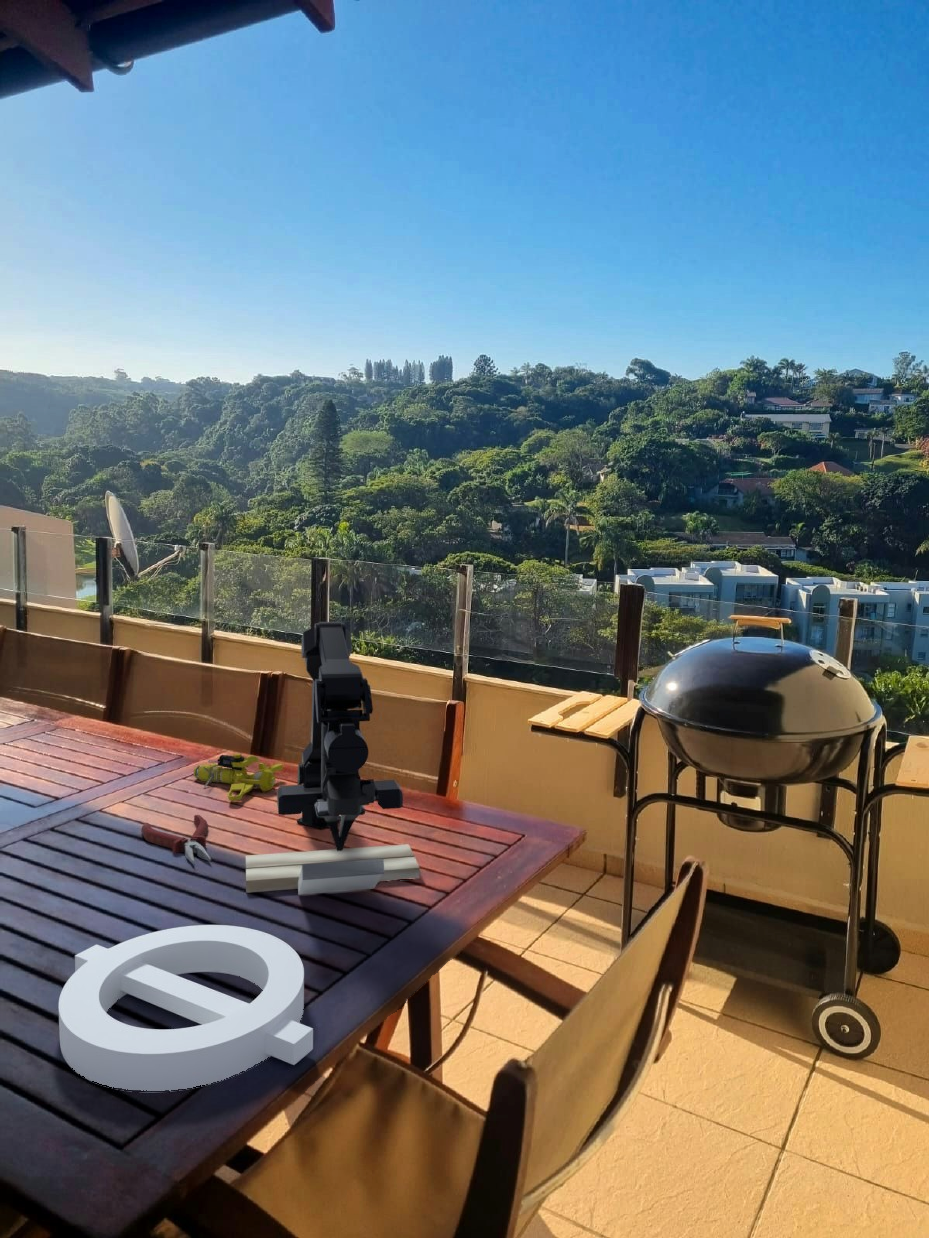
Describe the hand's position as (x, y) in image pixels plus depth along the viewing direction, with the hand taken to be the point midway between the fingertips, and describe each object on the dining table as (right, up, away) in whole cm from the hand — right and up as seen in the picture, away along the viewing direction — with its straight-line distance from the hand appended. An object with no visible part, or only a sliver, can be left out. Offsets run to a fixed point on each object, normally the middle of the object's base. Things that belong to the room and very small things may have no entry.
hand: (339, 849), depth 136 cm
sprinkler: (-31, -1, +53) cm, 61 cm away
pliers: (-32, -5, +22) cm, 39 cm away
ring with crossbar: (-14, -13, -29) cm, 35 cm away
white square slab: (-1, -7, +5) cm, 9 cm away
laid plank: (-3, -7, +12) cm, 14 cm away
